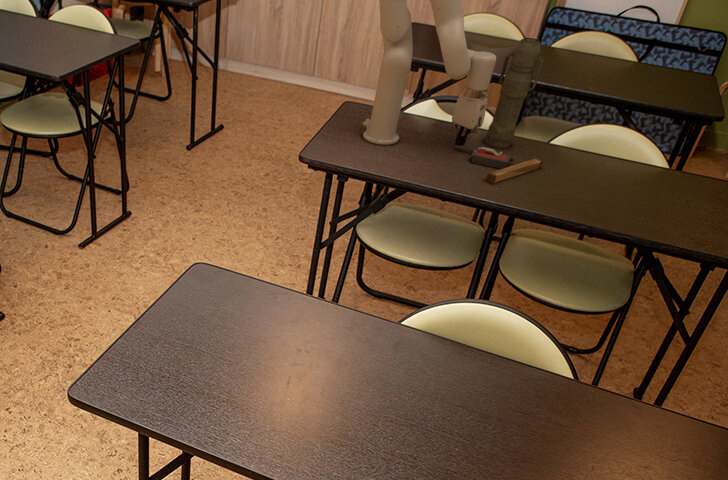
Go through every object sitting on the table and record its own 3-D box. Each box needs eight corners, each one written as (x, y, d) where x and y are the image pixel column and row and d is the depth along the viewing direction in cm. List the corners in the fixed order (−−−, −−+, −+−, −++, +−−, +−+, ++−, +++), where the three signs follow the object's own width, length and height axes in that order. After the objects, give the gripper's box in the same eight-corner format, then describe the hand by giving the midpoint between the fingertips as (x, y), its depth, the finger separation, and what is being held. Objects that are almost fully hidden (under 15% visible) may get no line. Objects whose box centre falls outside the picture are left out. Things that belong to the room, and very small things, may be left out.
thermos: (481, 135, 251) (513, 33, 228) (515, 142, 247) (551, 39, 224) (478, 144, 245) (510, 40, 222) (512, 151, 241) (548, 45, 218)
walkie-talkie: (513, 161, 234) (453, 148, 241) (517, 149, 231) (457, 136, 238) (508, 171, 228) (448, 157, 235) (513, 158, 225) (451, 145, 232)
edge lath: (485, 180, 222) (487, 173, 221) (533, 165, 232) (536, 157, 231) (492, 183, 221) (494, 176, 219) (540, 167, 231) (543, 160, 229)
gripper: (500, 97, 226) (483, 150, 238) (464, 83, 235) (450, 135, 247) (484, 101, 223) (468, 155, 234) (449, 87, 232) (435, 139, 244)
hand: (459, 144), depth 241 cm, fingers closed
